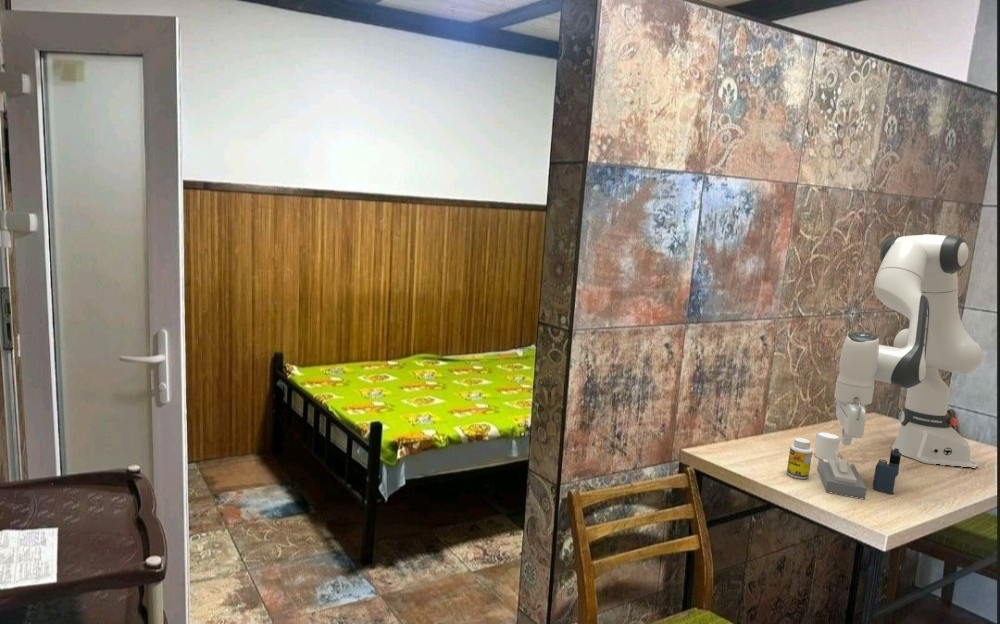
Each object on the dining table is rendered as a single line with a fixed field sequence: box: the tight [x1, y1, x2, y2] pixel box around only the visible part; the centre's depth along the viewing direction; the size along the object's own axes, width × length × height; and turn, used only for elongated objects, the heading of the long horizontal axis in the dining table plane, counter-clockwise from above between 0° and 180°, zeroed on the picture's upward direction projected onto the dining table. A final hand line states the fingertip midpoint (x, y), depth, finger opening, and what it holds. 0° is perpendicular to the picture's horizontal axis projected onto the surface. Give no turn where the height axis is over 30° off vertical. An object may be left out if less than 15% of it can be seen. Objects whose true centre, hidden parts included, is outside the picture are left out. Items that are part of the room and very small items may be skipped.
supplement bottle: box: [786, 437, 813, 480], centre depth 180 cm, size 6×6×10 cm
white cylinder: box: [814, 431, 842, 460], centre depth 197 cm, size 7×7×7 cm
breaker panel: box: [816, 458, 867, 500], centre depth 177 cm, size 9×18×4 cm, turn 161°
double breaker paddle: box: [835, 450, 848, 472], centre depth 177 cm, size 2×8×3 cm, turn 161°
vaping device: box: [872, 448, 902, 495], centre depth 173 cm, size 3×5×12 cm, turn 58°
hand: (845, 443), depth 176 cm, fingers closed
